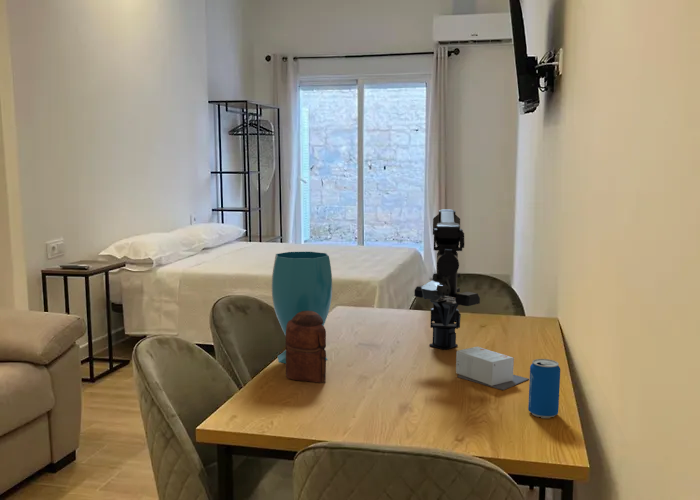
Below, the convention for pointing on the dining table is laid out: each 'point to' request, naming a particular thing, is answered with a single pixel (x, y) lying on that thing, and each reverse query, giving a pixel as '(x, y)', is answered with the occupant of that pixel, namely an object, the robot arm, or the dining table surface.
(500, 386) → the mat
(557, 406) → the beverage can
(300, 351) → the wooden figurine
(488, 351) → the small box
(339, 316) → the dining table surface
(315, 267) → the vase
